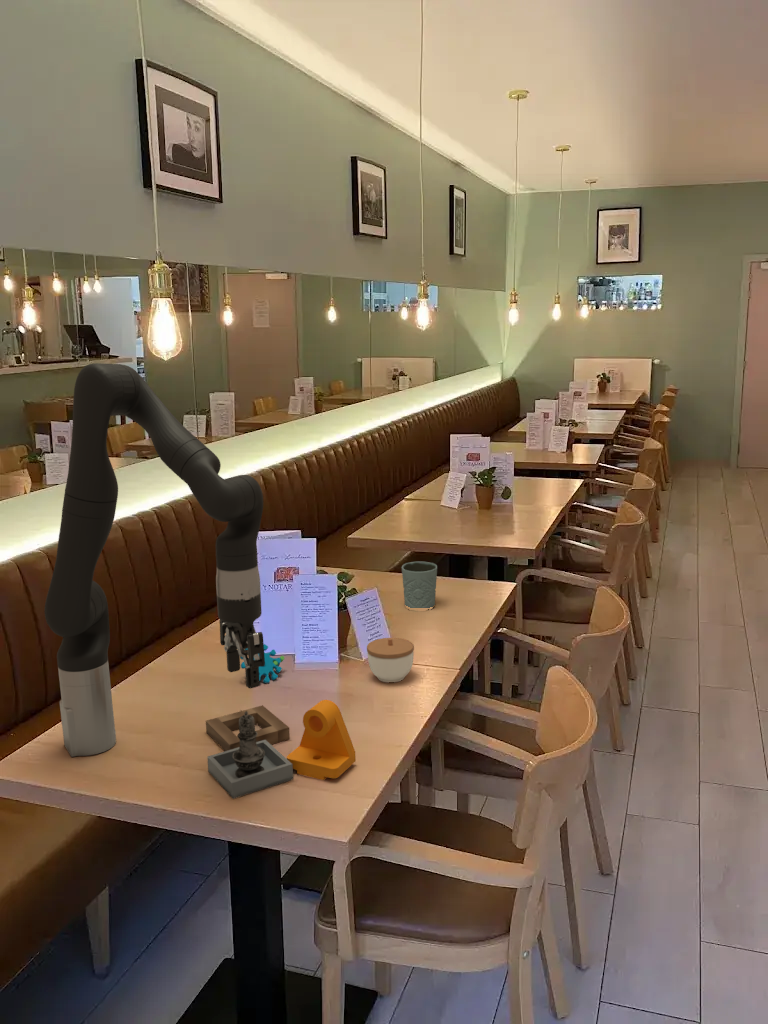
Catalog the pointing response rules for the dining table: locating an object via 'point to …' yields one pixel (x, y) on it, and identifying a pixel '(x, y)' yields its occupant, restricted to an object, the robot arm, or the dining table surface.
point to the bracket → (323, 743)
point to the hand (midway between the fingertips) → (243, 678)
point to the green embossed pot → (419, 584)
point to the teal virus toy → (268, 665)
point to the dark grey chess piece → (248, 748)
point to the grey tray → (273, 774)
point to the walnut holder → (226, 724)
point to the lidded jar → (390, 658)
